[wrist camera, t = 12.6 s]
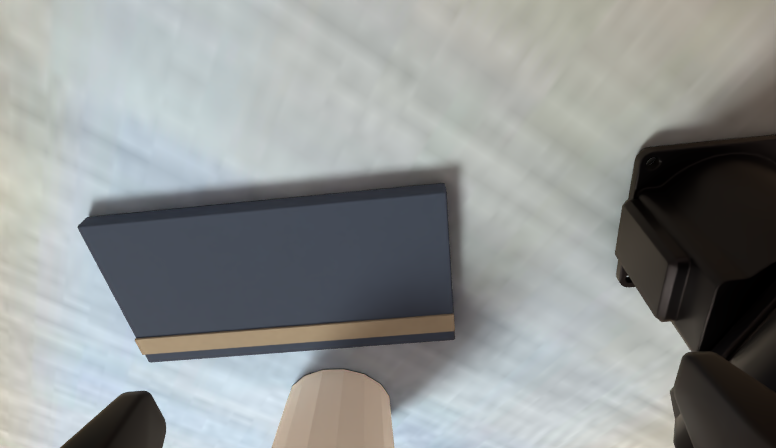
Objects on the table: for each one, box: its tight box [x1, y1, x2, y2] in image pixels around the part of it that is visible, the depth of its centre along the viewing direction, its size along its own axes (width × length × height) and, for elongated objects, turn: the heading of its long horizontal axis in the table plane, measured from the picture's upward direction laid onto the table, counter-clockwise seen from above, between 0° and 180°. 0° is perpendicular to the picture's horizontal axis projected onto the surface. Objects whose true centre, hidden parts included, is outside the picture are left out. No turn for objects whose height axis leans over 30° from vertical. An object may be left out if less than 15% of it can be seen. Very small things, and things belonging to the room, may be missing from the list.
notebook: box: [78, 183, 455, 362], centre depth 22 cm, size 15×8×1 cm, turn 96°
